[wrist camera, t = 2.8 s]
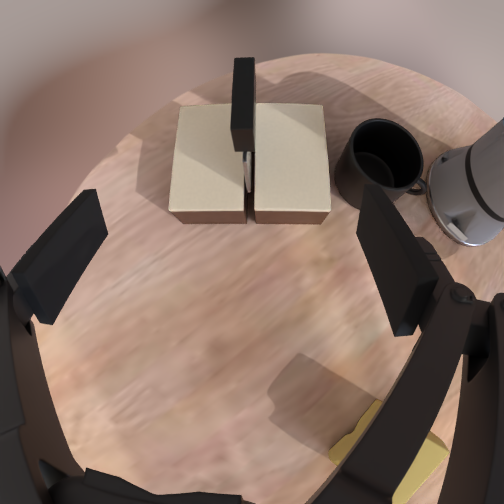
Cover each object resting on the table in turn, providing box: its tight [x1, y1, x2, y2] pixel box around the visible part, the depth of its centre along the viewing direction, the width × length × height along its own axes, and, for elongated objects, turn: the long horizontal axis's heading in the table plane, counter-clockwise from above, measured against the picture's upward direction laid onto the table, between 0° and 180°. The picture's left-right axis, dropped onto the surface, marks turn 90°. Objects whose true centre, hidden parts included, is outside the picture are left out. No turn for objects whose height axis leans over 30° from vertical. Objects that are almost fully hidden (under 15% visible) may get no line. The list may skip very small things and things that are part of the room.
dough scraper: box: [230, 57, 256, 192], centre depth 29 cm, size 2×10×12 cm, turn 179°
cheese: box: [328, 399, 449, 504], centre depth 30 cm, size 10×11×10 cm
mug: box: [335, 118, 427, 209], centre depth 36 cm, size 9×12×9 cm
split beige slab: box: [168, 103, 331, 224], centre depth 38 cm, size 18×14×7 cm
